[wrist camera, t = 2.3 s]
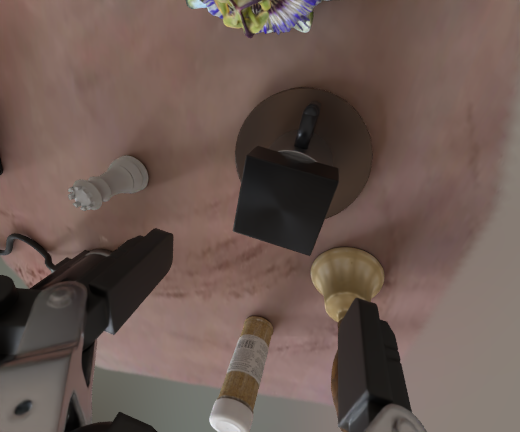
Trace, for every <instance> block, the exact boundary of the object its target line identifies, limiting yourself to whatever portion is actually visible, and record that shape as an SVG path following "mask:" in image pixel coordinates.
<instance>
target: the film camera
mask: <svg viewBox="0 0 520 432" xmlns="http://www.w3.org/2000/svg"><path fill="white" fill-rule="evenodd" d="M2 173H3V169H2V164H1V159H0V175H1V174H2Z"/></svg>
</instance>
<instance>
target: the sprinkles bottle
mask: <svg viewBox="0 0 520 432" xmlns="http://www.w3.org/2000/svg"><path fill="white" fill-rule="evenodd" d="M272 334H273V327H272V325H271V323H270V322H269V321H267V320H266V319H264V318H262V317H257V316H253V317H249V318H247V319H246V321H245V322H244V328H243V330H242V333H241V336H240V338H239V340H238V343H237V346H236V348H235V351H234V354H233V357H232V359H231V362H230V365H229V368H228V370H227V374H226V377H225V380H224V383H223V386H222V389H221V391H220V395H219V397H218V398H217V400H216V402H215V403H214V406H213V409H212V412H211V415H210V424H211V425H212V427H213V428H214V429H215V430H216V431H218V432H250V428H251V424H252V420H253V408H254V405H255V401H256V396H257V392H258V389H259V386H260V382H261V378H262V374H263V370H264V365H265V361H266V357H267V353H268V347H269V343H270V339H271V336H272Z"/></svg>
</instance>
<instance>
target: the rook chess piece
mask: <svg viewBox="0 0 520 432" xmlns="http://www.w3.org/2000/svg"><path fill="white" fill-rule="evenodd" d="M147 183H148V172H147V170H146V168H145V166H144V165H143V164H142V163H141V162H140V161H139V160H137V159H135V158H134V157H132V156H126V155H125V156H122V157H119V158H118V159H116V160H114V161H113V162H112V163H111V165H110V166H109V168H108V169H107V171H106V172H105V173H103V174H101V175H100V176H98V177H94V176H93V177H90V178H89V180H88V181H87V180H81V179H80V180H77V181H75V183H74V184H73V187H71V188H70V189H69V190H68V191H69V192H70V193H71V192H72V193H71V194H69V195H68V197H69V199H75V201H76V202H75V203H73V205H74V206H75V207H76V208H77V207H79V206H82V207H81V210H83V211H86V210H89V209H92V210H96V209H99V208H100V207H101V205H102V201H103V202H106V201H109V199H110V198H111V197H112V196H114V195H116V194H119V193H130V194H131V193H136V192H139V191H140V190H143V189H144V188H145V187H146V186H147Z"/></svg>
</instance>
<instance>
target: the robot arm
mask: <svg viewBox="0 0 520 432" xmlns="http://www.w3.org/2000/svg"><path fill="white" fill-rule="evenodd" d="M14 239H19V240H22V241H24V242H26V243H27V244H29V245H30V246H32V247H33V248H34V249H36V250H37V251H38V252H39V253H40V254H41V255H42V256H43V257H44V258H45V265H46V266H47V267H48V268H49V269H50V270H51V272H52V273H51V274H50V275H49V276H47V277H46V278H44V279H43V280H41V281H40V282H38V283H37V284H36V285H34V286H33V287H31V288H30V289H20V288H16V287H15V285H14V283H13V280H12V279H11V278H9V277H7V276H4V275H0V432H157V431H156V430H155V429H154V428H153V427H152V426H150V425H148V424H146V423H144V422H141V421H139V420H137V419H134V418H132V417H130V416H128V415H125V414H123V413H121V412H119V413H118V414H117V416H116V418H115V419H114V421H113V422H98V423H93V424H92V384H93V375H94V367H95V358H96V348H97V338H98V337H99V336H100V335H101V333H102V332H103V331H106V332H108V333H111V334H113V335H114V334H115V333H116V332H117V331H118V330H119V329H120V328H121V326H122V325H123V324H124V323H125V322H126V321H127V319H128V318H129V317H130V316H131V315H132V314H133V312H134V311H135V310H136V309H137V308H138V307H139V305H140V304H141V303H142V302H143V301H144V300H145V298H146V297H147V296H148V295H149V294H150V293H151V292H152V290H153V289H154V288H155V287H156V286H157V285H158V283H159V282H160V281H161V280H162V279H163V278H164V276H165V275H166V274H167V273H168V271H169V269H170V267H171V265H172V260H173V234H171V233H168V232H166V231H163V230H160V229H157V228H155V229H153V230H152V231H150V232H149V233H148V234H147V235H146V236H144V237H143V236H137V237H135V238H132V239H130V240H127V241H126V242H125V243H124V244H122V245H121V246H120V247H118V249H117V250H115V251H113V252H110V251H107V250H103V249H95V250H92V251H87V250H84V251H83V252H81V253H80V254H79V255H77V256H76V257H74V258H73V259H70V258H65V259H64V260H63V261H61V262H60V263H58V264H57V265H54V264H53V263H52V258H51V256H50V254H49V253H48V252H47V251H46V250H45V249H43V248H42V247H41V246H40V245H39V244H37V243H36V242H35V241H33V240H32V239H30V238H28V237H26V236H24V235H21V234H11V235H9V236H8V238H7V242H6V249H5V250H0V255H8V254H10V253H11V252H12V248H13V241H14ZM397 350H398V347H397V343H396V338H395V335H394V333H393V331H392V330H391V328H390V326H389V325H388V323H387V322H386V321H383V320H380V319H379V313H378V307H377V305H376V304H375V303H372V302H369V301H366V300H363V299H360V298H355V299H354V301H353V302H352V304H351V306H350V307H349V309H348V311H347V313H346V314H345V316H344V318H343V320H342V322H341V324H340V327H339V332H338V427H340V428H342V429H345V430H347V431H349V432H427V431H426V430H425V428H424V426H423V425H422V423H421V422H420V421H419V420H418V419H417V417H416V416H415V415H414V414H413V413H412V410H411V407H410V402H409V397H408V393H407V388H406V384H405V379H404V375H403V370H402V365H401V363H400V356H399V352H398V351H397Z"/></svg>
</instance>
